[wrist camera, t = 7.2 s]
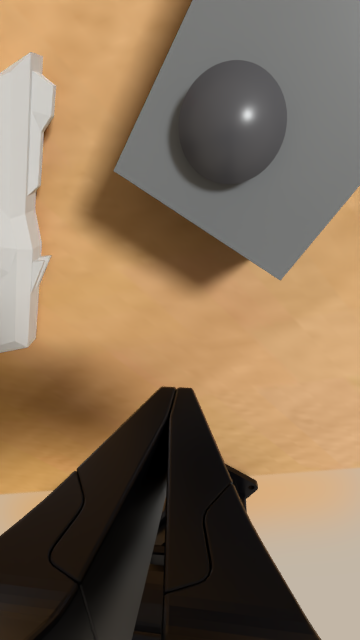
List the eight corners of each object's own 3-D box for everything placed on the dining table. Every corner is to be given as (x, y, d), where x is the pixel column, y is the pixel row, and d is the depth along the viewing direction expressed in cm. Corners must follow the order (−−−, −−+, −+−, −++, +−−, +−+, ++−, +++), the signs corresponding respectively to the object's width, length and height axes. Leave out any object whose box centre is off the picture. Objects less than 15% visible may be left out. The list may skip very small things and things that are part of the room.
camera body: (463, -1, 13) (607, -90, 8) (269, 250, 19) (285, 287, 14) (299, -151, 12) (352, -361, 7) (141, 164, 17) (108, 171, 12)
